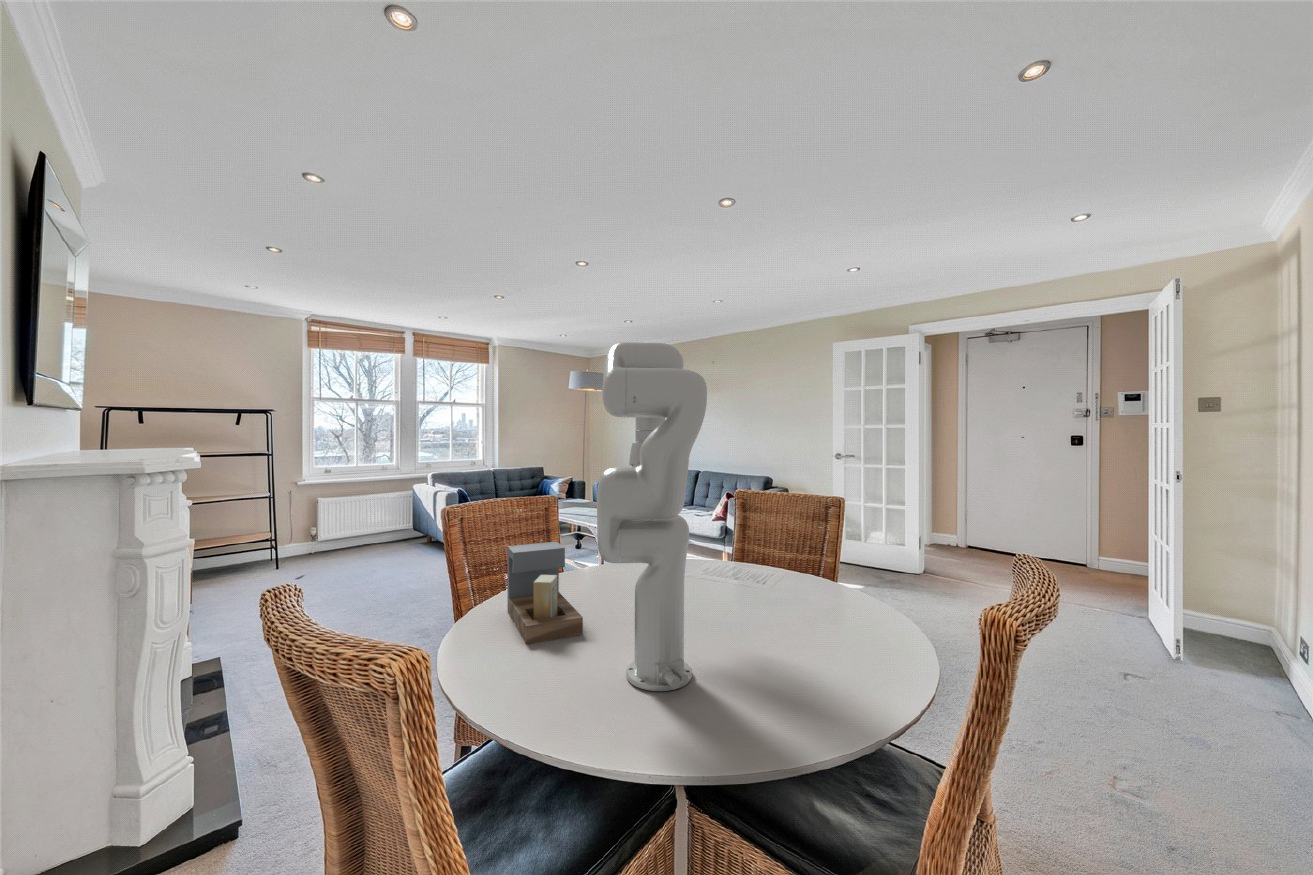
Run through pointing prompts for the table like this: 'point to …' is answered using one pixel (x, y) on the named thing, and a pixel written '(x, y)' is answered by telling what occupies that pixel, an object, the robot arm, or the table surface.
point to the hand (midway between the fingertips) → (650, 505)
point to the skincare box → (545, 597)
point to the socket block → (544, 620)
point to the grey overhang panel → (532, 566)
